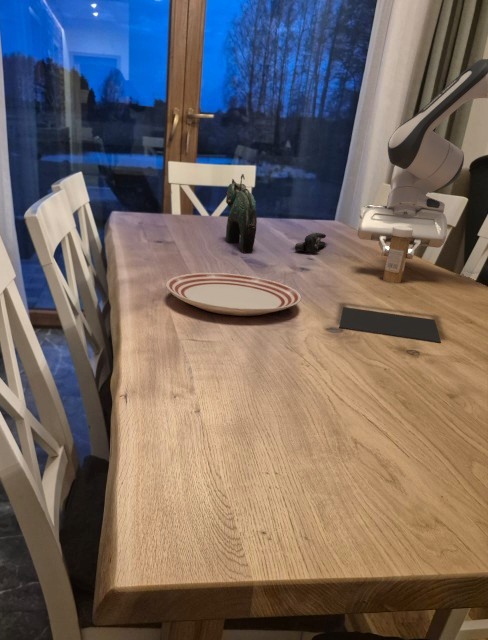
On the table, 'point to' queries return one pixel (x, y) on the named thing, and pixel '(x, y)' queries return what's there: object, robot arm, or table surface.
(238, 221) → the green horse figurine
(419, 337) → the rubber mat
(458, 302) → the table surface
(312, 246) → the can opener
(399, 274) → the sprinkles bottle
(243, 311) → the dinner plate
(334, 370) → the table surface
